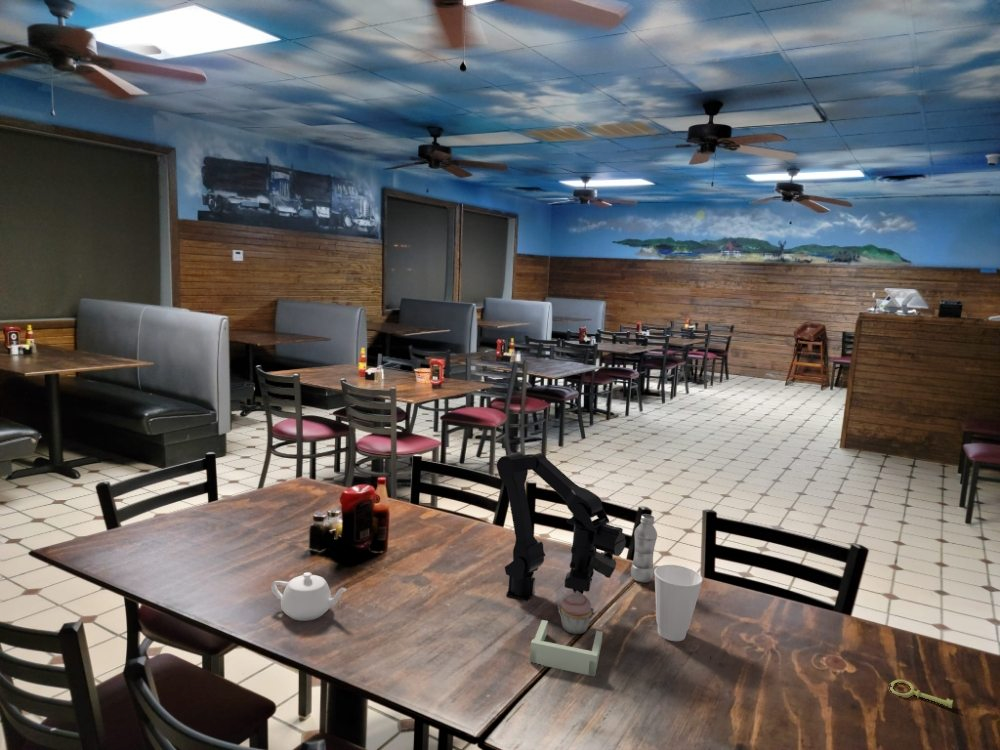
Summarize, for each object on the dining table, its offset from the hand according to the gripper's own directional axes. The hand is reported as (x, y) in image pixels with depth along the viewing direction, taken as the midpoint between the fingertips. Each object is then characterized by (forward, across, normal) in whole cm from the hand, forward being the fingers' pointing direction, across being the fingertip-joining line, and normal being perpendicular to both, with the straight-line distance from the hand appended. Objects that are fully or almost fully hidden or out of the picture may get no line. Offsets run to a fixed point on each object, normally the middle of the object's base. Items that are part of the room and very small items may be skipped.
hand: (578, 599), depth 173 cm
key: (+6, -6, -78) cm, 78 cm away
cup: (+5, +1, -24) cm, 25 cm away
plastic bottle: (+6, +29, -15) cm, 33 cm away
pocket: (+5, -17, 0) cm, 17 cm away
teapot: (+5, -22, +65) cm, 69 cm away
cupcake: (+5, -5, 0) cm, 7 cm away
